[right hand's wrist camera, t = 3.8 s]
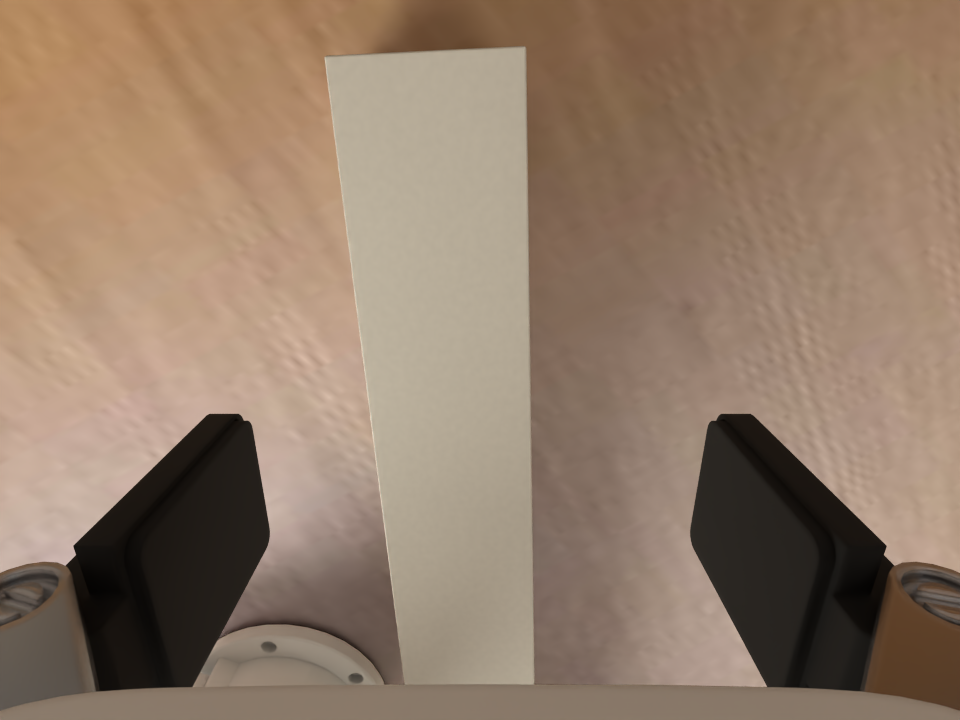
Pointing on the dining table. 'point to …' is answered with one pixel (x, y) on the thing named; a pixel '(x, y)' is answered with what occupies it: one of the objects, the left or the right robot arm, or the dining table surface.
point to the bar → (445, 344)
